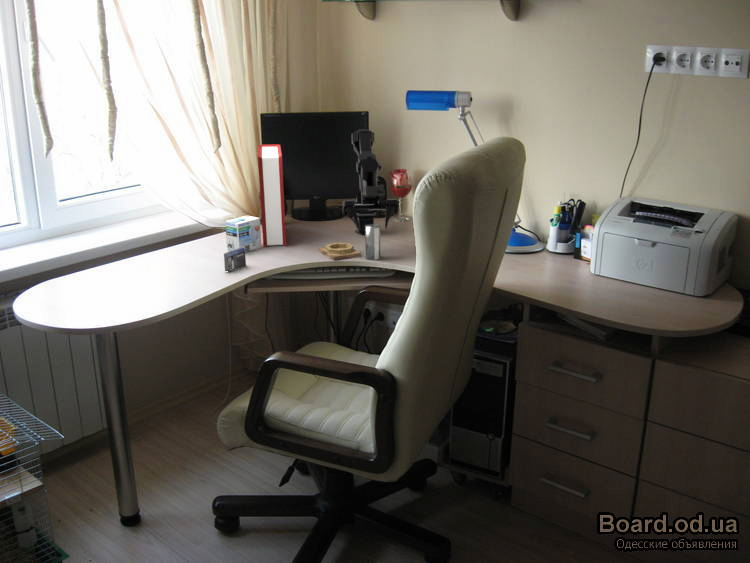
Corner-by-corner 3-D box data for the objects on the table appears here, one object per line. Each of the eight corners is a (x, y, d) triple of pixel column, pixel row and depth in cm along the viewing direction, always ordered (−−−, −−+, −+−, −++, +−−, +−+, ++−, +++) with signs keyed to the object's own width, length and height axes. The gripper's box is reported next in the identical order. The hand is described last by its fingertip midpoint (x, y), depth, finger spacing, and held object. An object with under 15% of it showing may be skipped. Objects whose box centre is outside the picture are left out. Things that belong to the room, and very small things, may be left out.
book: (286, 246, 260) (281, 155, 250) (263, 247, 259) (257, 156, 249) (284, 227, 286) (280, 144, 275) (263, 228, 285) (258, 144, 274)
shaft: (362, 257, 247) (362, 225, 243) (375, 254, 249) (375, 223, 246) (370, 261, 243) (369, 228, 239) (383, 258, 245) (383, 226, 241)
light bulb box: (239, 254, 251) (237, 223, 248) (226, 251, 255) (224, 220, 252) (262, 247, 259) (260, 217, 256) (249, 244, 263) (247, 214, 260)
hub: (318, 251, 253) (318, 244, 253) (344, 247, 258) (344, 240, 257) (333, 260, 244) (333, 252, 243) (360, 256, 248) (360, 248, 247)
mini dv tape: (228, 272, 232) (227, 254, 230) (225, 271, 233) (223, 253, 231) (246, 265, 239) (244, 248, 237) (242, 265, 240) (241, 247, 238)
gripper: (342, 176, 244) (344, 216, 237) (398, 175, 245) (402, 215, 238) (341, 195, 254) (343, 234, 247) (395, 193, 255) (399, 232, 248)
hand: (372, 228), depth 245 cm, fingers open, 9 cm apart
